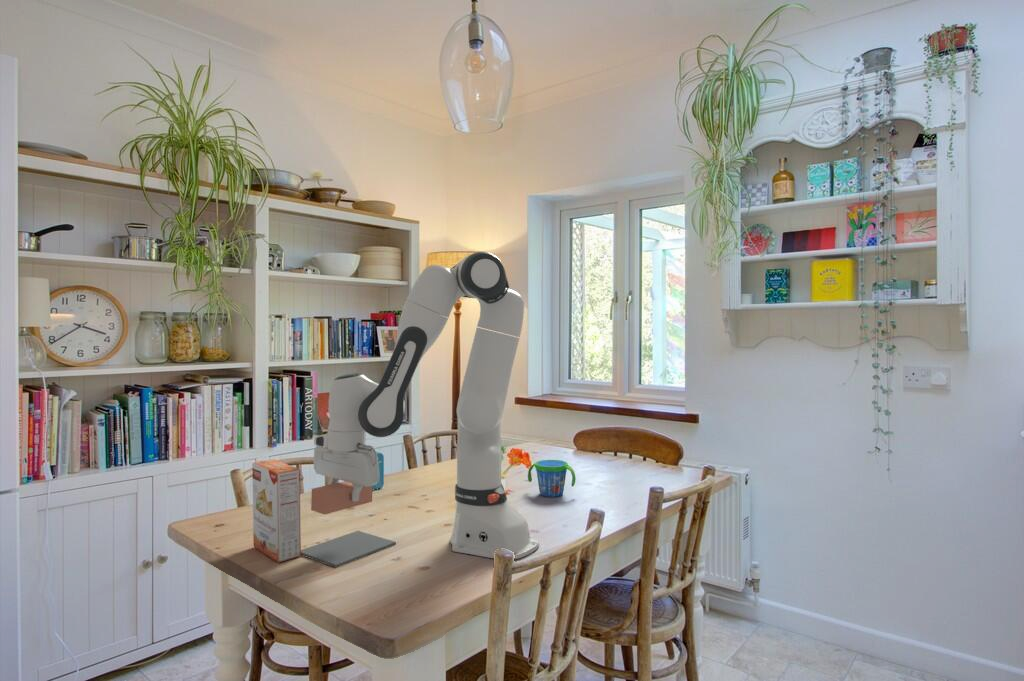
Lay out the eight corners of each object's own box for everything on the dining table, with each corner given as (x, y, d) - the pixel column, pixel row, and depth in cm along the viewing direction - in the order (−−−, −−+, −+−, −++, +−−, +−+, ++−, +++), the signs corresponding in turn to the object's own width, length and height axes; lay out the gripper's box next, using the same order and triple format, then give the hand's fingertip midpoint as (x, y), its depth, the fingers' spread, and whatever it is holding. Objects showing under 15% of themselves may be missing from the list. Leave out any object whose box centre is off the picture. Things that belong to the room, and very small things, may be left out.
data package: (351, 495, 195) (351, 457, 195) (344, 492, 199) (344, 455, 198) (384, 488, 204) (384, 452, 204) (376, 485, 207) (376, 450, 207)
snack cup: (521, 494, 196) (522, 463, 196) (537, 487, 205) (537, 457, 205) (566, 502, 188) (566, 469, 188) (580, 494, 198) (580, 462, 197)
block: (311, 488, 143) (359, 478, 154) (311, 510, 143) (358, 497, 154) (325, 492, 140) (372, 481, 151) (324, 514, 140) (372, 501, 151)
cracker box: (251, 548, 149) (251, 462, 148) (276, 541, 153) (275, 458, 152) (276, 564, 139) (275, 472, 138) (301, 557, 143) (301, 467, 142)
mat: (395, 544, 151) (395, 541, 151) (336, 567, 137) (336, 564, 137) (357, 532, 160) (357, 530, 160) (297, 553, 145) (297, 551, 145)
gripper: (386, 445, 144) (385, 503, 144) (330, 434, 156) (329, 488, 156) (365, 448, 139) (364, 509, 139) (309, 437, 151) (308, 493, 151)
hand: (345, 498), depth 148 cm, fingers closed on block, 5 cm apart
